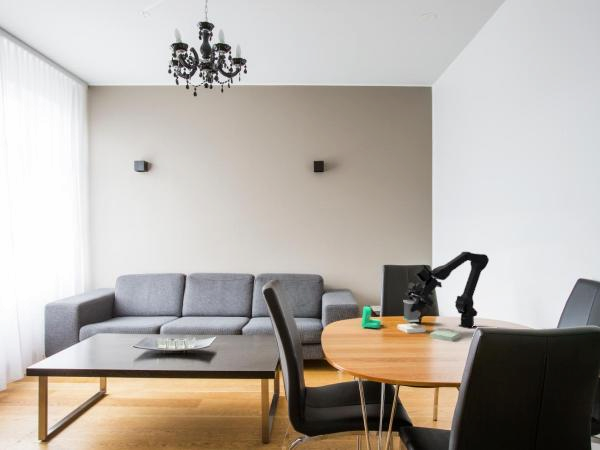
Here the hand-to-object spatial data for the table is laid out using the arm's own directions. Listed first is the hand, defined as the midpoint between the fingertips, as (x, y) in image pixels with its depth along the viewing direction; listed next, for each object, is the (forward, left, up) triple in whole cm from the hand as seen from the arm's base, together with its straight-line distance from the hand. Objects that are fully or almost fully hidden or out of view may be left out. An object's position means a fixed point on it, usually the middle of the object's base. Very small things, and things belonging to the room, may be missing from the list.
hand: (408, 310), depth 197 cm
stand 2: (-4, +18, -10) cm, 21 cm away
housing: (-1, 0, -5) cm, 5 cm away
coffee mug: (-16, -9, -10) cm, 21 cm away
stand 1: (-1, 0, -10) cm, 10 cm away
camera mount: (+10, -16, -10) cm, 22 cm away
